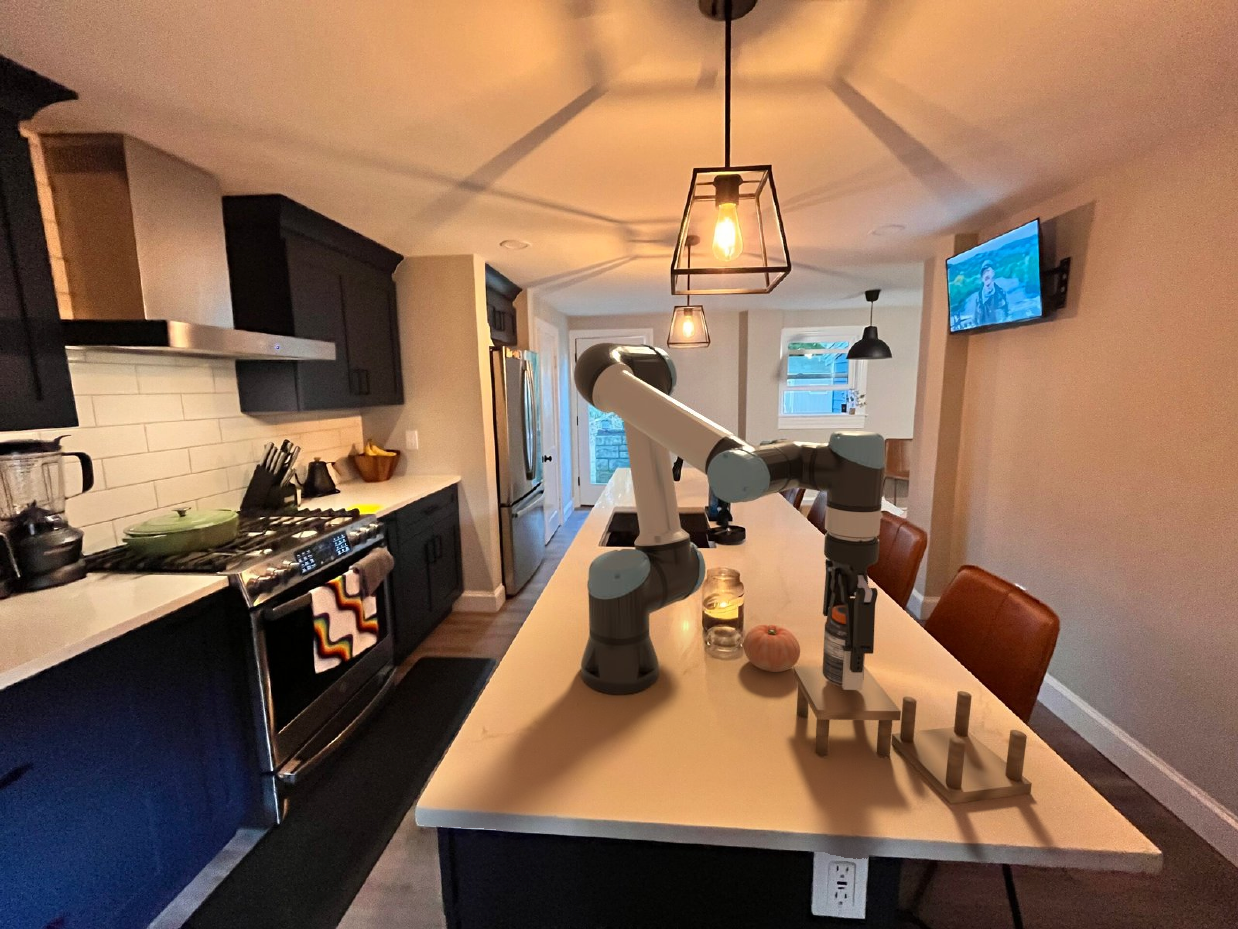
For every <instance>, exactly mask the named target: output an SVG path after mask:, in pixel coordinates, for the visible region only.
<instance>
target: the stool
mask: <svg viewBox="0 0 1238 929" xmlns="http://www.w3.org/2000/svg"><path fill="white" fill-rule="evenodd" d="M792 675H793V677H794V680H795V681H796V683H797V693H796V694H797V695H796V696H797V699H796V700H797V701H796V716H797V717H799V718H802V719H806V718H808V717H809V708H811V711H812V712H813V714H814V716H815V718H816V724H815V725H816V726H815V727H816V728H815V747H814V749H815V750H814V753H815V754H816V755H817V756H819V757H821V758H826V757H828V756H829V739H830V738H829V737H830V721H831V720H832V721H833V720H834V721H835V720H837V721H839V720H840V721H878V724H877V725H878V726H877V738H876V754H877V755H878V756H879V757H881V758H885V759H888V758H890V756H891V744H892V731H893V730H892V729H893V721H901V718H902V710H901V709H900V708H899V707H898V706H897V704H896V703H895V701H893V700H892V698H891V697H890V695H889V694H888V693H887V692H886V691H885V689H883V687H882V686H881V684H880V683H879V682H878V681H877V680H876V678H875V677H874V676H873V675H872V673H871V672H870V671H869V670H868V668H867V667H866V666H864V679H863V685H862V690H844V689H843V688H842V686H840V685H837V684H834V683H832V682H830V681H829V680H827V679H826V678H825V676H824V675H823V665H822V666H819V665H817V666H814V665H813V666H811V665H810V666H808V665H807V666H806V665H803V666H802V665H794V666H793V667H792Z"/></svg>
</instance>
